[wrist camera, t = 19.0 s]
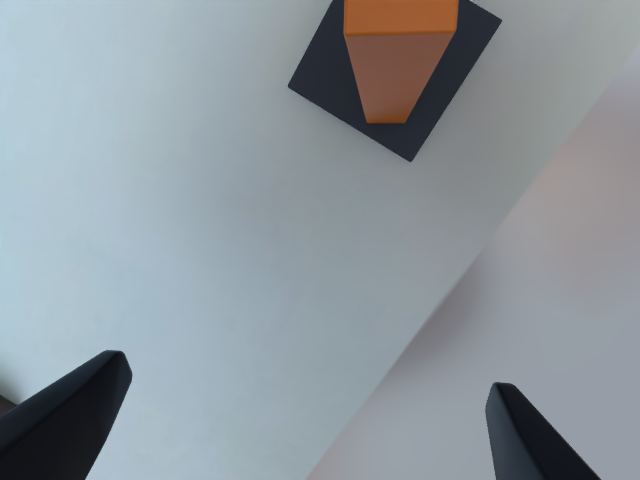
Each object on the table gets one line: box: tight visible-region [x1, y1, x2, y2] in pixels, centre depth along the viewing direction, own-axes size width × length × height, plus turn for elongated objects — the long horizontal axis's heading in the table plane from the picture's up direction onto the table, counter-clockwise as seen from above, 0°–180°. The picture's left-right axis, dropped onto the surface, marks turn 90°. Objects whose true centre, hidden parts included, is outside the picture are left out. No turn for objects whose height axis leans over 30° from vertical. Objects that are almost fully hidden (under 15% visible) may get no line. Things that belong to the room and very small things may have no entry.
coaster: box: [288, 0, 502, 162], centre depth 17 cm, size 7×7×1 cm
